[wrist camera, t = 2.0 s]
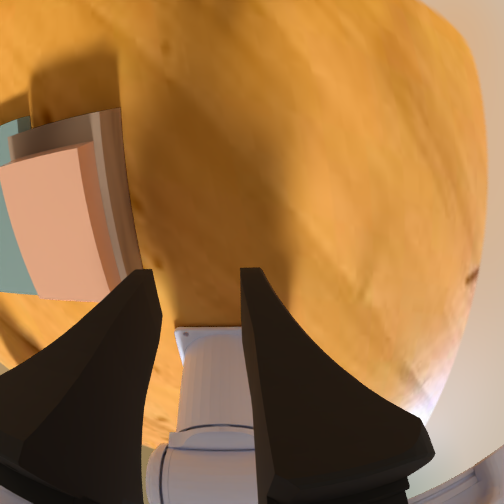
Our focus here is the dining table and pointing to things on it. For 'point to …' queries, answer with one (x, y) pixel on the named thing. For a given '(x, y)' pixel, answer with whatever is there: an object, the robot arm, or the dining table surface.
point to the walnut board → (108, 167)
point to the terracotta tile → (61, 223)
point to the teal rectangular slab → (3, 238)
